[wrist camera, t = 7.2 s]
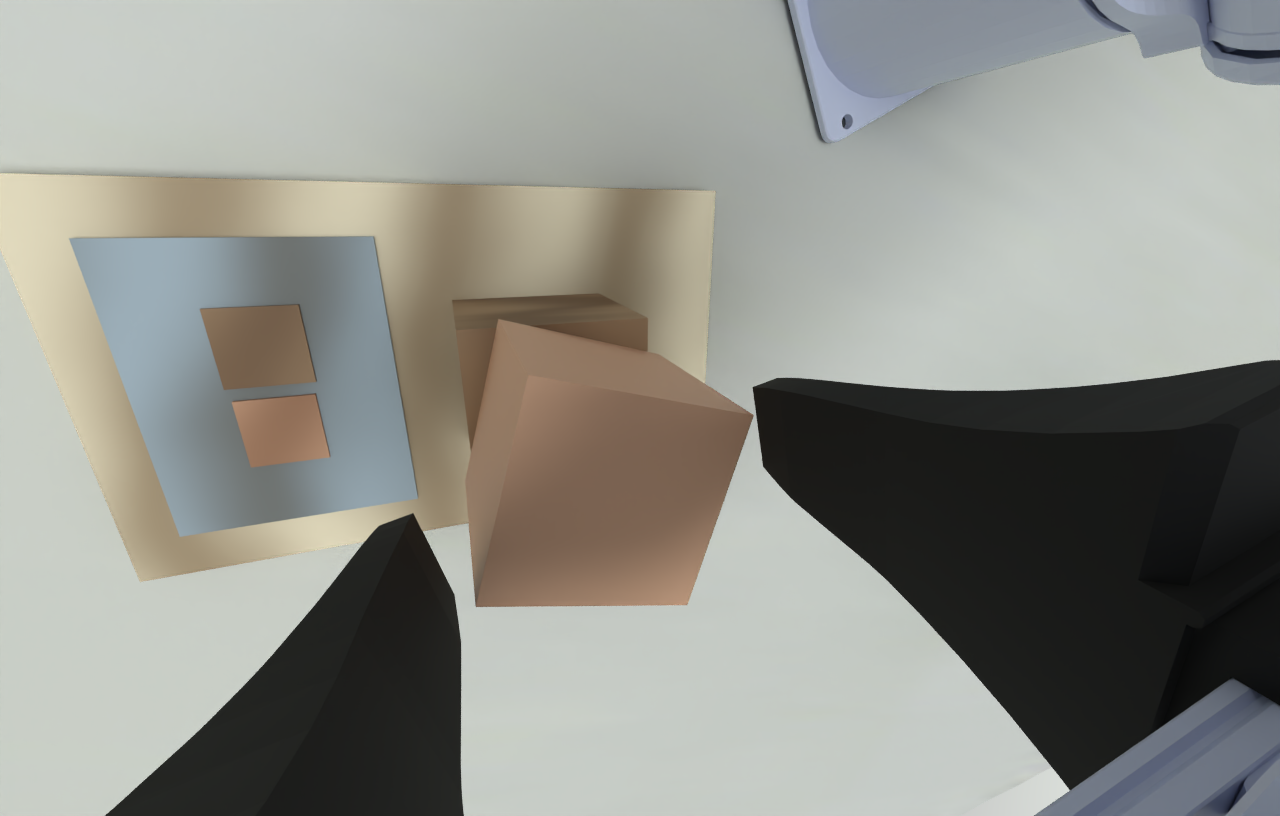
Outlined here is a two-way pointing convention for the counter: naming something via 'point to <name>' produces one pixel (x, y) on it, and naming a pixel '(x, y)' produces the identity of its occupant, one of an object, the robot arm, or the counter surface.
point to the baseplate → (320, 337)
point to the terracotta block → (594, 473)
